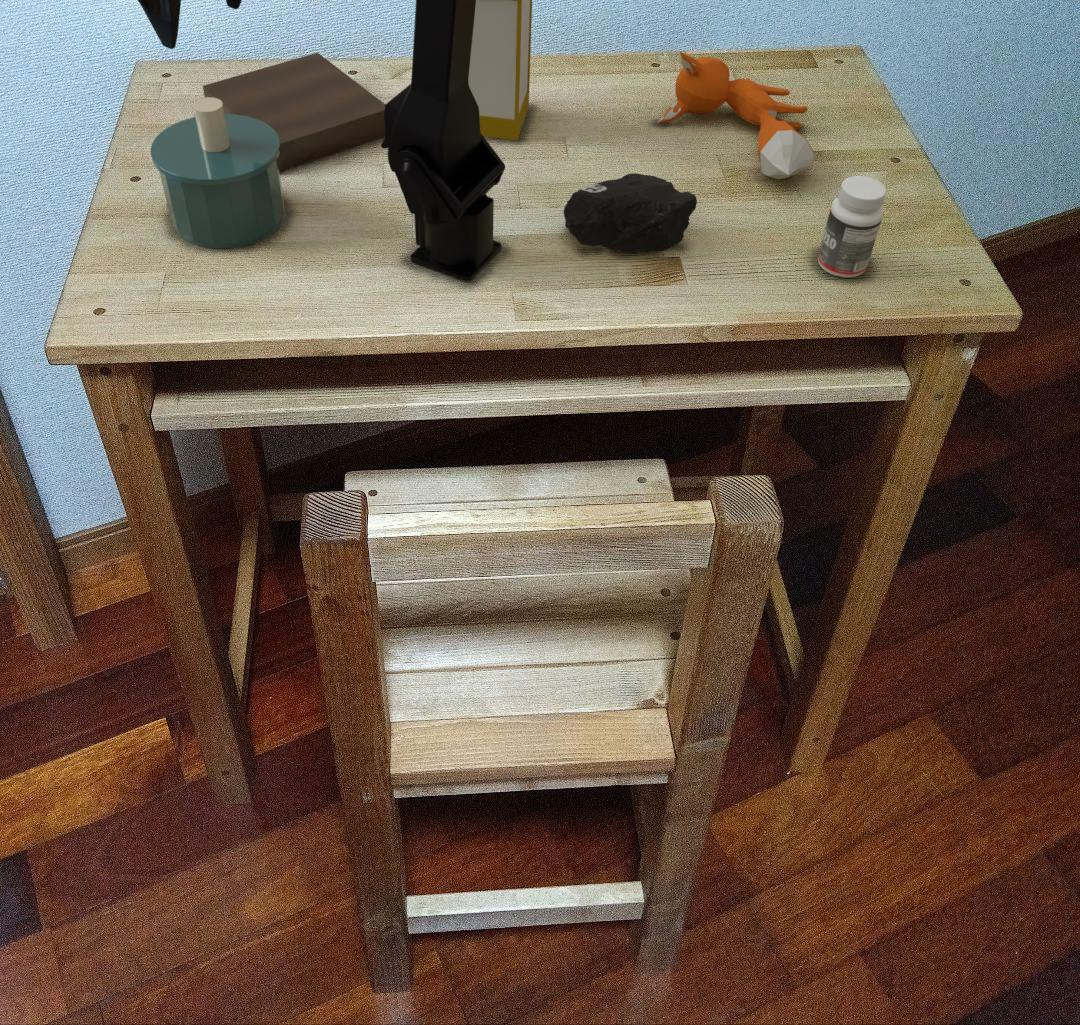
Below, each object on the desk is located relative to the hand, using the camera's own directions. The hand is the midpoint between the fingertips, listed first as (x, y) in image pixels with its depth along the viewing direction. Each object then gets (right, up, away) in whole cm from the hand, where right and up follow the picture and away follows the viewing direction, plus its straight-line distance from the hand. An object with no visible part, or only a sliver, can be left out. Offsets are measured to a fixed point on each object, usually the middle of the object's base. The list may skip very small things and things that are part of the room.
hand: (201, 26), depth 103 cm
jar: (+1, -15, +7) cm, 17 cm away
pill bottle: (+59, -20, +6) cm, 63 cm away
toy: (+53, -4, +20) cm, 57 cm away
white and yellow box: (+25, -3, +20) cm, 32 cm away
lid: (+1, -11, +2) cm, 11 cm away
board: (+5, -2, +20) cm, 20 cm away
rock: (+39, -17, +8) cm, 43 cm away
